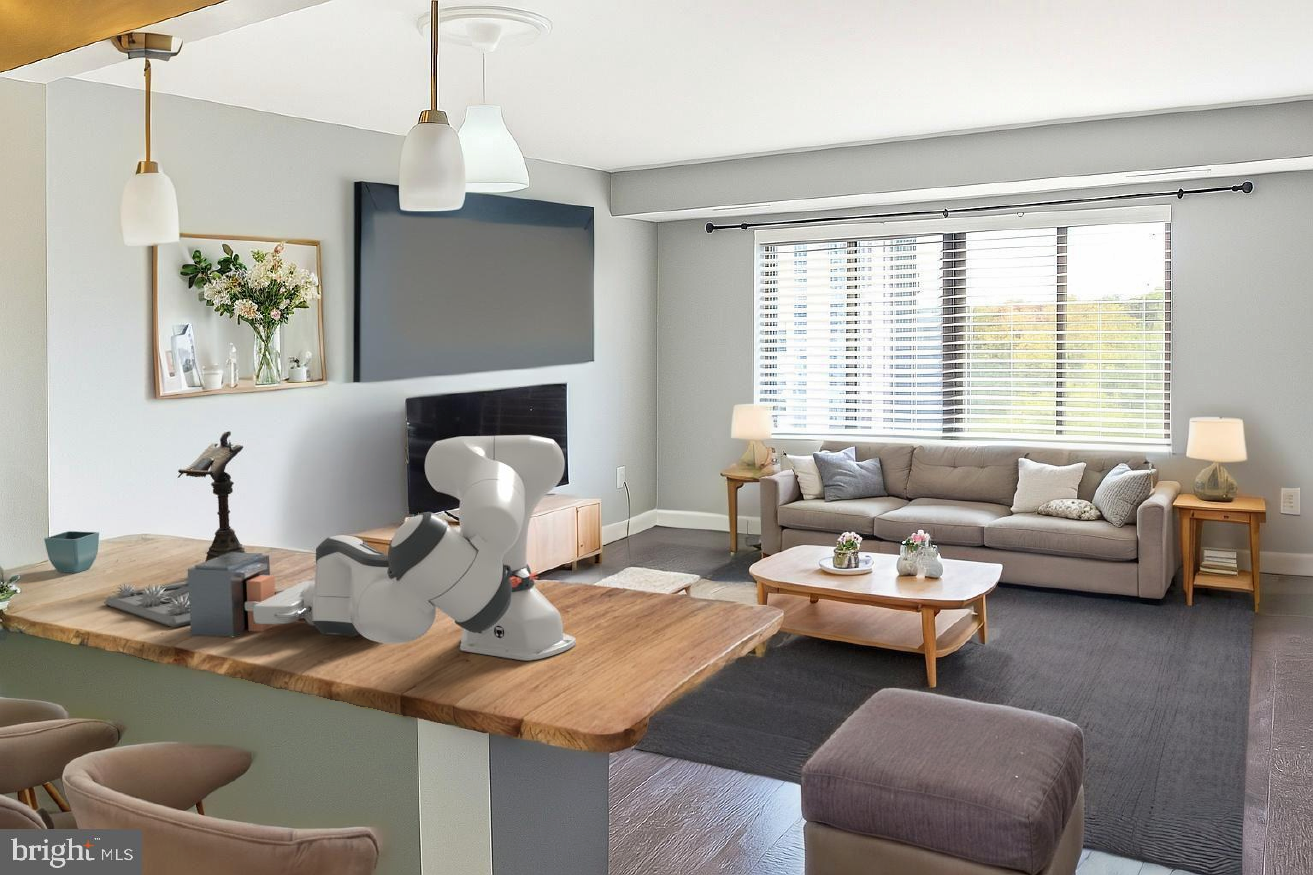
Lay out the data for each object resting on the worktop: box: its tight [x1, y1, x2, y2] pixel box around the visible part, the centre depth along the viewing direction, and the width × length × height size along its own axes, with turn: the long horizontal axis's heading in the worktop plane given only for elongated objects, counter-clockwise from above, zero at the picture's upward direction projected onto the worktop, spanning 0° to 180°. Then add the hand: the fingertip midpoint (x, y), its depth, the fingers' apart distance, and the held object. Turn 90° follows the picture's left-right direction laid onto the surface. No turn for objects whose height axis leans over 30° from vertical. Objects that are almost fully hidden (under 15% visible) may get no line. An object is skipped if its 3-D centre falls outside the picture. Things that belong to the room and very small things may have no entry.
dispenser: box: [187, 552, 271, 637], centre depth 210 cm, size 10×14×14 cm
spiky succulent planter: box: [103, 573, 191, 629], centre depth 226 cm, size 30×22×7 cm
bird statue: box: [177, 431, 246, 562], centre depth 251 cm, size 17×13×35 cm
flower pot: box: [43, 530, 100, 574], centre depth 259 cm, size 9×9×9 cm
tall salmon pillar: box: [246, 574, 277, 632], centre depth 209 cm, size 3×5×10 cm, turn 170°
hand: (257, 600), depth 210 cm, fingers open, 6 cm apart
